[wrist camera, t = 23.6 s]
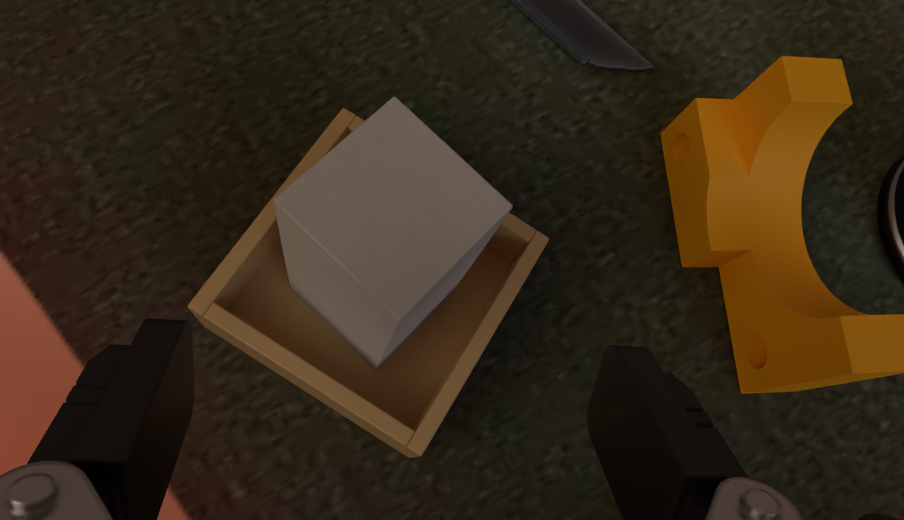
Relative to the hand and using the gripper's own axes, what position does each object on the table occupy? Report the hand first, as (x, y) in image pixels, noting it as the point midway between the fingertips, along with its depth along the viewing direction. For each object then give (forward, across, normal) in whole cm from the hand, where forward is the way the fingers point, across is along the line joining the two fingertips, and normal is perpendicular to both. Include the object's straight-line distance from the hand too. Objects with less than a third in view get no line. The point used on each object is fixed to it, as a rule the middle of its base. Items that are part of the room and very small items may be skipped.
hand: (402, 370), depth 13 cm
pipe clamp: (+15, -16, +4) cm, 22 cm away
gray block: (+12, 0, +5) cm, 13 cm away
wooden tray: (+13, 0, +6) cm, 14 cm away
